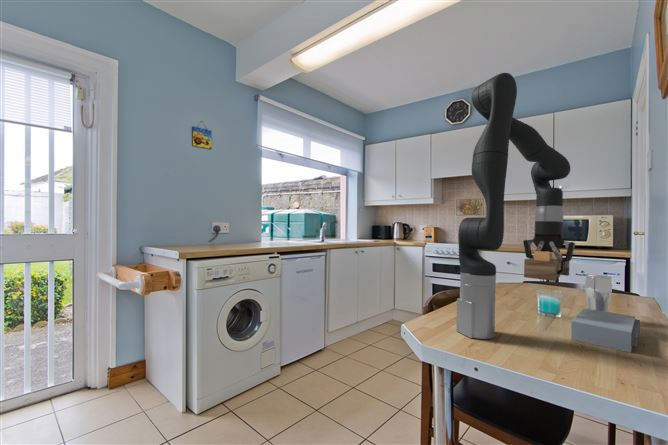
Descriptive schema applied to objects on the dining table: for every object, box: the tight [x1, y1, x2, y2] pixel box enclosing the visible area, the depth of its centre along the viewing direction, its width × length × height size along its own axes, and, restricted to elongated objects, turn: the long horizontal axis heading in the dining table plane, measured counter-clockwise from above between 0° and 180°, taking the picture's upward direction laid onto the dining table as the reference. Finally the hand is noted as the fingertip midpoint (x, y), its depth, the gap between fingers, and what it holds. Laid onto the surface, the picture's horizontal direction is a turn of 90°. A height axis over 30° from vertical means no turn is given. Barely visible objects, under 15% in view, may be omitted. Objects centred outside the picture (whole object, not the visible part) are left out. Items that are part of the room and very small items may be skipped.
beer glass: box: [584, 274, 613, 312], centre depth 106 cm, size 7×7×15 cm
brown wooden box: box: [523, 258, 570, 282], centre depth 100 cm, size 20×8×6 cm, turn 134°
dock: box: [570, 307, 641, 354], centre depth 89 cm, size 22×13×5 cm, turn 134°
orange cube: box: [533, 250, 553, 261], centre depth 95 cm, size 4×4×4 cm
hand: (547, 272), depth 100 cm, fingers closed on brown wooden box, 5 cm apart
